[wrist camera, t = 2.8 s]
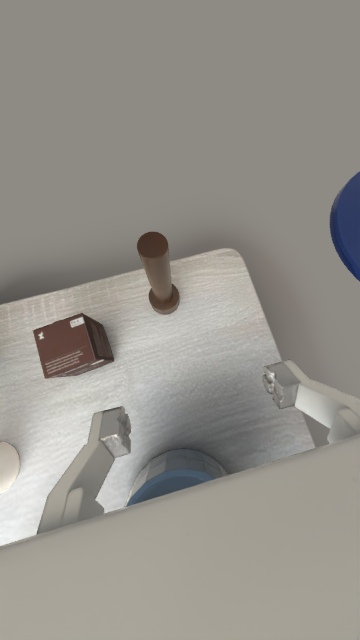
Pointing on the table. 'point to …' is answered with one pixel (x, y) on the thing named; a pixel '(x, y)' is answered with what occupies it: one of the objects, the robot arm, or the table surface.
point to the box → (72, 346)
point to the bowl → (173, 474)
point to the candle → (8, 466)
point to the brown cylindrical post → (158, 272)
